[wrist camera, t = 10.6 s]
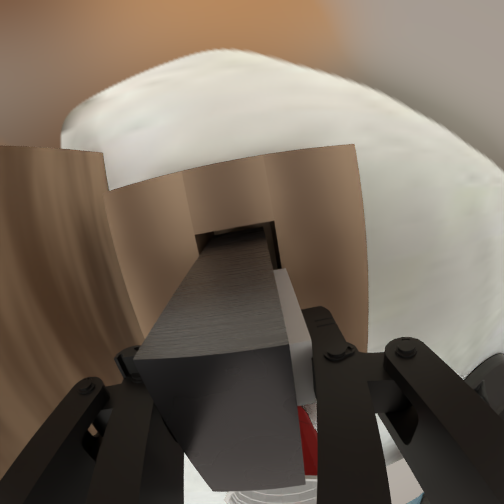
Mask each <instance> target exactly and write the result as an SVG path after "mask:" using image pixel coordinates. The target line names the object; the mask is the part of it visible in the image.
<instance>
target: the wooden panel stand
mask: <svg viewBox="0 0 504 504" xmlns="http://www.w3.org/2000/svg"><path fill="white" fill-rule="evenodd" d="M257 227H263V228H264V232H265V236H266V241H267V245H268V250H269V254H270V258H271V263H272V267H273V270H278V269H283V268H286V270H287V273H288V275H289V278H290V281H291V284H292V286H293V289H294V292H295V295H296V298H297V300H298V303H299V306H300V309H306V308H312V307H317V306H323V307H325V308H326V309H328V310H329V311H330V312H331V314H332V316H333V318H334V320H335V322H336V324H337V325H338V327H339V329H340V331H341V333H342V334H343V336H344V338H345V340H346V342H349V343H351V344H353V345H355V346H356V348H357V349H358V351H359V352H364V353H367V344H368V262H367V244H366V230H365V219H364V209H363V199H362V191H361V183H360V176H359V169H358V163H357V156H356V150H355V145H354V144H349V145H337V146H327V147H317V148H308V149H300V150H292V151H285V152H278V153H271V154H265V155H259V156H253V157H247V158H241V159H236V160H231V161H226V162H220V163H216V164H211V165H206V166H201V167H197V168H193V169H188V170H184V171H180V172H176V173H172V174H168V175H164V176H160V177H156V178H152V179H149V180H145V181H141V182H138V183H134V184H131V185H128V186H124V187H121V188H118V189H114V190H111V191H109V189H108V184H107V178H106V172H105V166H104V159H103V153H99V152H90V151H80V150H70V149H58V148H44V147H27V146H0V480H1V479H2V478H3V476H4V475H5V473H6V472H7V470H8V469H9V468H10V466H11V465H12V464H13V462H14V461H15V459H16V458H17V457H18V455H19V454H20V453H21V451H22V450H23V449H24V447H25V446H26V445H27V443H28V442H29V441H30V440H31V438H32V437H33V436H34V434H35V433H36V432H37V431H38V429H39V428H40V427H41V425H42V424H43V423H44V422H45V420H46V419H47V418H48V417H49V415H50V414H51V413H52V412H53V411H54V409H55V408H56V407H57V406H58V404H59V403H60V402H61V401H62V400H63V398H64V397H65V396H66V395H67V394H68V392H69V391H70V390H71V389H72V388H73V386H74V385H75V384H76V383H78V382H79V381H80V380H82V379H84V378H87V377H98V378H100V379H101V380H102V381H103V383H104V385H105V386H111V385H116V384H121V383H122V381H123V376H122V374H121V372H120V371H119V369H118V367H117V365H116V362H115V360H114V357H115V356H116V354H118V353H119V352H120V351H122V350H123V349H126V348H128V347H131V346H135V345H142V343H143V342H144V340H145V339H146V337H147V335H148V334H149V332H150V330H151V329H152V327H153V326H154V324H155V322H156V321H157V319H158V318H159V316H160V315H161V313H162V311H163V310H164V308H165V307H166V305H167V304H168V302H169V301H170V299H171V297H172V296H173V294H174V293H175V291H176V290H177V288H178V287H179V285H180V284H181V282H182V281H183V279H184V278H185V276H186V275H187V273H188V272H189V270H190V269H191V267H192V266H193V264H194V263H195V261H196V260H197V258H198V257H199V255H200V254H201V252H202V251H203V249H204V248H205V246H206V245H207V244H208V242H209V241H210V239H211V238H212V236H213V235H217V234H223V233H228V232H234V231H240V230H245V229H251V228H257ZM88 431H89V432H90V433H91V434H92V435H93V436H94V435H95V434H96V433H97V430H96V429H95V428H94V426H93V425H92V424H91V425H90V427H89V428H88Z"/></svg>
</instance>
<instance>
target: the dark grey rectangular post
mask: <svg viewBox="0 0 504 504" xmlns="http://www.w3.org/2000/svg"><path fill="white" fill-rule="evenodd" d="M133 361H134V364H135V366H136V368H137V370H138V372H139V374H140V376H141V378H142V380H143V382H144V384H145V386H146V388H147V390H148V392H149V394H150V396H151V398H152V399H153V401H154V403H155V405H156V407H157V409H158V410H159V412H160V414H161V416H162V417H163V419H164V421H165V422H166V424H167V426H168V427H169V429H170V431H171V432H172V434H173V436H174V437H175V439H176V440H177V442H178V443H179V445H180V446H181V448H182V449H183V451H184V452H185V454H186V455H187V457H188V458H189V460H190V461H191V463H192V464H193V465H194V467H195V468H196V470H197V471H198V472H199V474H200V475H201V476H202V478H203V479H204V480H205V482H206V483H207V484H208V486H209V487H210V488H211V489H212V491H220V492H228V491H255V490H268V489H278V488H286V487H294V486H300V485H306V481H305V471H304V461H303V452H302V443H301V434H300V425H299V416H298V408H297V400H296V391H295V384H294V376H293V368H292V360H291V353H290V346H289V340H288V336H287V331H286V326H285V322H284V317H283V312H282V308H281V303H280V299H279V294H278V290H277V285H276V281H275V276H274V272H273V267H272V263H271V258H270V254H269V250H268V245H267V241H266V236H265V232H264V228H263V227H257V228H251V229H245V230H240V231H234V232H228V233H223V234H217V235H213V236H212V238H211V239H210V241H209V242H208V244H207V245H206V246H205V248H204V249H203V251H202V252H201V254H200V255H199V257H198V258H197V260H196V261H195V263H194V264H193V266H192V267H191V269H190V270H189V272H188V273H187V275H186V276H185V278H184V279H183V281H182V282H181V284H180V285H179V287H178V288H177V290H176V291H175V293H174V294H173V296H172V297H171V299H170V301H169V302H168V304H167V305H166V307H165V308H164V310H163V311H162V313H161V315H160V316H159V318H158V319H157V321H156V322H155V324H154V326H153V327H152V329H151V330H150V332H149V334H148V335H147V337H146V339H145V340H144V342H143V343H142V345H141V347H140V348H139V350H138V352H137V353H136V355H135V357H134V358H133Z"/></svg>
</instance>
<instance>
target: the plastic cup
mask: <svg viewBox="0 0 504 504" xmlns="http://www.w3.org/2000/svg"><path fill="white" fill-rule="evenodd" d="M297 408H298V416H299V425H300V434H301V443H302V452H303V461H304V471H305V481H306V485H300V486H294V487H286V488H278V489H268V490H255V491H228V492H227V494H226V497H225V499H224V501H225V502H226V503H227V504H317V464H318V443H317V431H316V430H315V429H314V427H313V425H312V423H311V421H310V418H309V416H308V414H307V413H306V412H305V410H304V409H303V408H302V407H301V406H297Z"/></svg>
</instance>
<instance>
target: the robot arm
mask: <svg viewBox="0 0 504 504" xmlns="http://www.w3.org/2000/svg"><path fill="white" fill-rule="evenodd" d="M273 272H274V276H275V281H276V285H277V290H278V294H279V299H280V303H281V308H282V312H283V317H284V322H285V326H286V331H287V336H288V340H289V346H290V353H291V360H292V368H293V376H294V384H295V391H296V400H297V406H301V405H306V404H312V403H316V400H317V443H318V464H317V504H391V497H390V490H389V483H388V477H387V471H386V465H385V459H384V454H383V449H382V444H381V439H380V434H379V429H378V425H377V420H376V416H375V413H378V415H379V417H380V419H381V420H382V422H383V424H384V425H385V427H386V429H387V430H388V432H389V433H390V435H391V437H392V438H393V440H394V442H395V443H396V445H397V447H398V448H399V450H400V452H401V454H402V455H403V457H404V459H405V460H406V462H407V464H408V465H409V467H410V468H411V470H412V472H413V474H414V476H415V477H416V479H417V481H418V482H419V484H420V486H421V488H422V489H423V491H424V492H423V493H422V494H421V495H420V496H419V497H417V498H416V499H414V500H412V501H410V502H409V503H407V504H504V354H497V355H494V356H492V357H491V358H489V359H488V360H486V361H485V362H483V363H482V364H481V365H480V366H479V367H478V368H476V369H475V370H474V371H473V372H472V373H471V374H470V375H469V376H468V377H467V378H466V379H465V381H464V380H463V379H462V378H461V377H460V376H459V375H457V374H456V373H455V372H454V371H453V370H452V369H451V368H450V367H449V366H448V365H447V364H446V363H445V362H444V361H443V360H442V359H441V358H439V357H438V356H437V355H436V354H435V353H434V352H433V351H432V350H431V349H430V348H429V347H427V346H426V345H425V344H424V343H423V342H421V341H420V340H418V339H415V338H411V337H401V338H397V339H394V340H392V341H390V342H389V343H388V344H387V345H386V347H385V352H380V353H364V352H359V351H358V349H357V348H356V346H355V345H353V344H351V343H349V342H346V340H345V338H344V336H343V334H342V333H341V331H340V329H339V327H338V325H337V324H336V322H335V320H334V318H333V316H332V314H331V312H330V311H329V310H328V309H326V308H325V307H323V306H317V307H312V308H306V309H300V306H299V303H298V300H297V298H296V295H295V292H294V289H293V286H292V284H291V281H290V278H289V275H288V273H287V270H286V268H283V269H278V270H273ZM140 347H141V345H135V346H131V347H128V348H126V349H123V350H122V351H120V352H119V353H118V354H116V356H115V357H114V360H115V362H116V365H117V367H118V369H119V371H120V372H121V374H122V376H123V381H122V383H121V384H116V385H111V386H105V385H104V383H103V381H102V380H101V379H100V378H98V377H87V378H84V379H82V380H80V381H79V382H78V383H76V384H75V385H74V386H73V388H72V389H71V390H70V391H69V392H68V394H67V395H66V396H65V397H64V398H63V400H62V401H61V402H60V403H59V404H58V406H57V407H56V408H55V409H54V411H53V412H52V413H51V414H50V415H49V417H48V418H47V419H46V420H45V422H44V423H43V424H42V425H41V427H40V428H39V429H38V431H37V432H36V433H35V434H34V436H33V437H32V438H31V440H30V441H29V442H28V443H27V445H26V446H25V447H24V449H23V450H22V451H21V453H20V454H19V455H18V457H17V458H16V459H15V461H14V462H13V464H12V465H11V466H10V468H9V469H8V470H7V472H6V473H5V475H4V476H3V478H2V479H1V480H0V504H184V451H183V449H182V448H181V446H180V445H179V443H178V442H177V440H176V439H175V437H174V436H173V434H172V432H171V431H170V429H169V427H168V426H167V424H166V422H165V421H164V419H163V417H162V416H161V414H160V412H159V410H158V409H157V407H156V405H155V403H154V401H153V399H152V398H151V396H150V394H149V392H148V390H147V388H146V386H145V384H144V382H143V380H142V378H141V376H140V374H139V372H138V370H137V368H136V366H135V364H134V361H133V358H134V357H135V355H136V353H137V352H138V350H139V348H140ZM315 396H316V397H315ZM91 424H92V425H93V426H94V428H95V429H96V430H97V433H96V434H95V435H94V436H93V435H92V434H91V433H90V432H89V431H88V428H89V427H90V425H91Z"/></svg>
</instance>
